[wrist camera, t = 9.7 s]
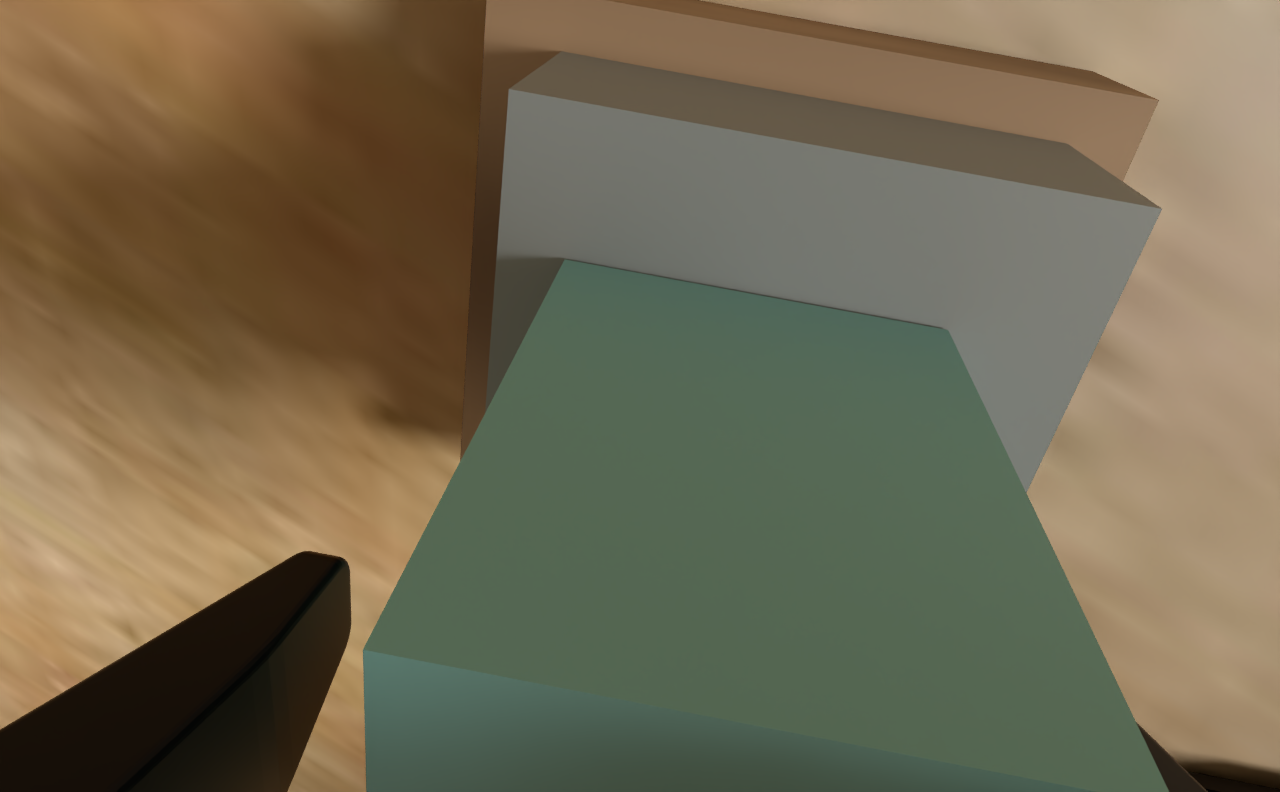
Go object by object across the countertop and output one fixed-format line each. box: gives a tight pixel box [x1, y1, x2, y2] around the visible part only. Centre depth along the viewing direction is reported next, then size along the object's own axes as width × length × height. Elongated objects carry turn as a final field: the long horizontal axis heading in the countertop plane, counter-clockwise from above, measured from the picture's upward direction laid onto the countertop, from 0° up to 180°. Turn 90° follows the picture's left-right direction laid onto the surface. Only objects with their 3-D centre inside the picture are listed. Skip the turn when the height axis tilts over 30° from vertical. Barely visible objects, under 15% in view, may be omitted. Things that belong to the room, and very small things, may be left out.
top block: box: [485, 51, 1162, 492], centre depth 12 cm, size 7×7×3 cm
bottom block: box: [460, 0, 1159, 461], centre depth 15 cm, size 9×9×3 cm
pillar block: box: [363, 259, 1169, 792], centre depth 8 cm, size 4×4×6 cm
